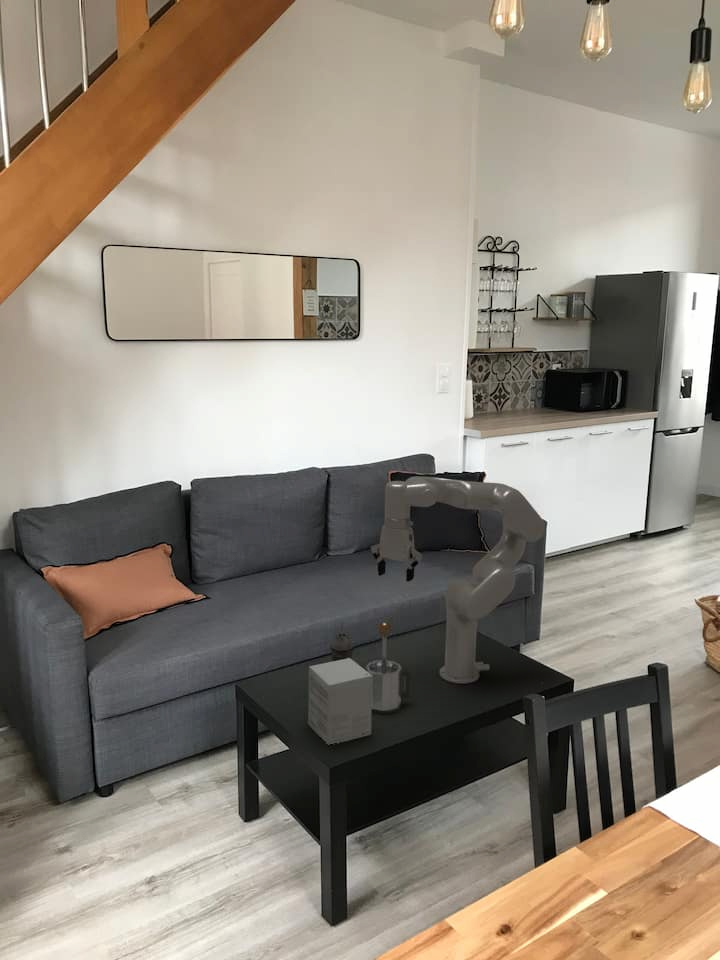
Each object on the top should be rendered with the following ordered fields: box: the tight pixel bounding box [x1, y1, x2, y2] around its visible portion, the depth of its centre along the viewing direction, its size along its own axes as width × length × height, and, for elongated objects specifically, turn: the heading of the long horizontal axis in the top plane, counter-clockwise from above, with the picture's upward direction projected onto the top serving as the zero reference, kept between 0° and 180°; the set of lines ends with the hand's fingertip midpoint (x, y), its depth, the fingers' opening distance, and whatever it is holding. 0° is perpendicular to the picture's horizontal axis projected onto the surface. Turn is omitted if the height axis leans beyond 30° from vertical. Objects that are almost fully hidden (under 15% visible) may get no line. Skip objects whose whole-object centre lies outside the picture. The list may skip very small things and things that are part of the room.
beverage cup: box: [330, 621, 355, 662], centre depth 241 cm, size 7×7×20 cm
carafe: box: [365, 659, 411, 715], centre depth 227 cm, size 13×10×12 cm
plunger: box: [372, 620, 396, 674], centre depth 225 cm, size 8×8×16 cm
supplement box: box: [307, 658, 372, 746], centre depth 212 cm, size 13×13×18 cm
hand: (395, 577), depth 235 cm, fingers open, 9 cm apart
